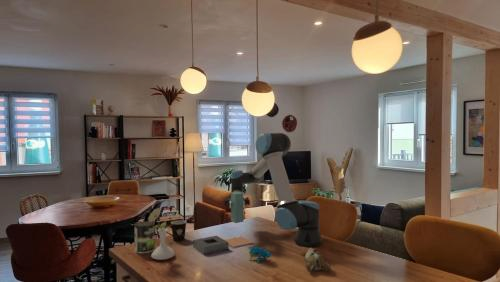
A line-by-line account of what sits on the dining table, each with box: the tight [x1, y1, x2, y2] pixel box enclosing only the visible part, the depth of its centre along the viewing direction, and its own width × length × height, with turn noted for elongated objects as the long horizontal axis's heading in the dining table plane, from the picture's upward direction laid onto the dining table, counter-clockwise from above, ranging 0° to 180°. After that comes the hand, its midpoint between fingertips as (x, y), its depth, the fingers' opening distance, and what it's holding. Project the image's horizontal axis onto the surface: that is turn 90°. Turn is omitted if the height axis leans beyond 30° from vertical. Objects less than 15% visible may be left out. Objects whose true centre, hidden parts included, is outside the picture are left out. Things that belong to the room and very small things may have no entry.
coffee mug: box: [164, 219, 187, 242], centre depth 191 cm, size 12×9×10 cm
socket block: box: [192, 235, 230, 256], centre depth 175 cm, size 14×14×4 cm
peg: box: [230, 192, 244, 224], centre depth 184 cm, size 5×5×16 cm
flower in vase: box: [147, 207, 176, 261], centre depth 162 cm, size 13×11×25 cm
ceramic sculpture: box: [304, 247, 332, 273], centre depth 148 cm, size 11×9×15 cm
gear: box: [248, 246, 272, 264], centre depth 157 cm, size 11×6×10 cm
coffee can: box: [133, 220, 156, 254], centre depth 173 cm, size 10×10×14 cm
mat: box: [224, 235, 254, 249], centre depth 185 cm, size 13×13×1 cm
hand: (237, 205), depth 179 cm, fingers closed on peg, 7 cm apart
